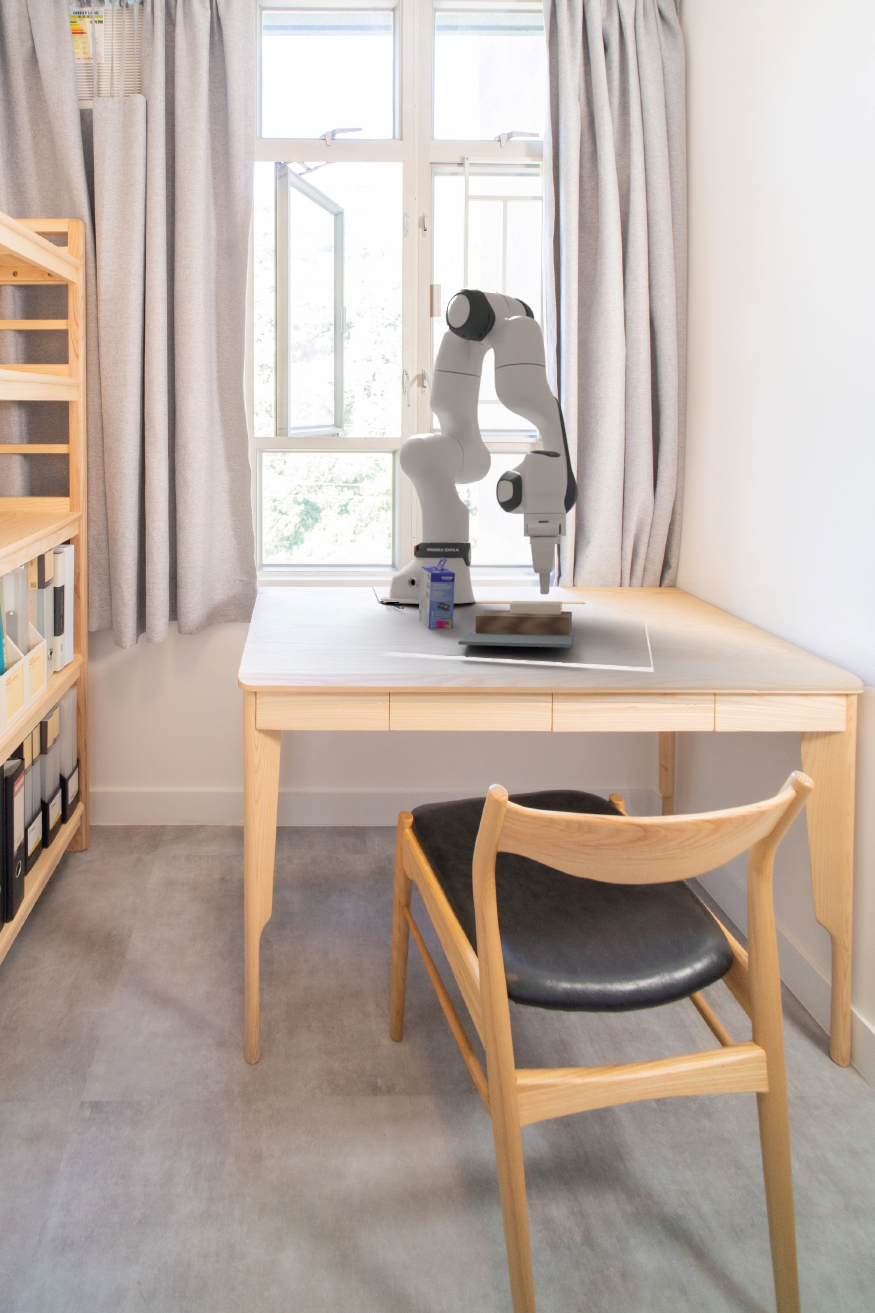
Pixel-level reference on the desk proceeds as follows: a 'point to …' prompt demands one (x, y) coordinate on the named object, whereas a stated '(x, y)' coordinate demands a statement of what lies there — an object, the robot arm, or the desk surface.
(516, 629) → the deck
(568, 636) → the mat
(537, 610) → the white flat block
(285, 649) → the desk surface
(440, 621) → the ink cartridge box
